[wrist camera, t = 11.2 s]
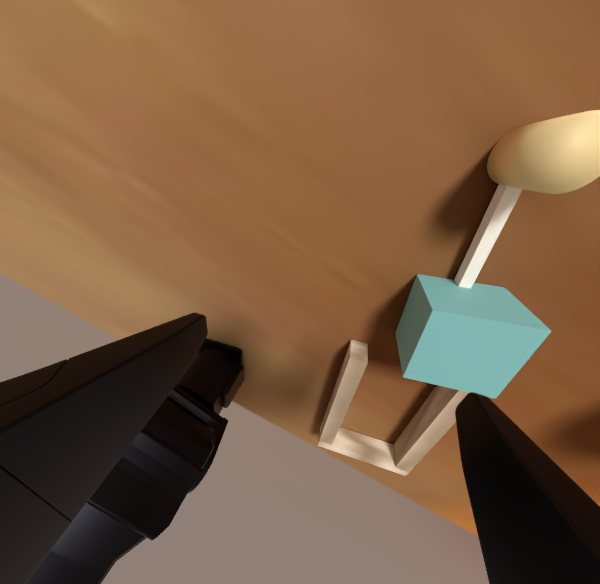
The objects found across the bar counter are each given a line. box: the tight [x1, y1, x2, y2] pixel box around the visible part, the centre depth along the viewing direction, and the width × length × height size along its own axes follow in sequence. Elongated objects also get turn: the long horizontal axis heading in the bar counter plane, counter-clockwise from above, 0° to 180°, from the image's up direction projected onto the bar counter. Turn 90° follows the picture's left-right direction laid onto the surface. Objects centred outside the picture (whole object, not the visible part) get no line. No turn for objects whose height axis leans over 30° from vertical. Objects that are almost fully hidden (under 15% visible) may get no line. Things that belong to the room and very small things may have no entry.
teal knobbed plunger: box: [395, 110, 600, 399], centre depth 14 cm, size 6×16×5 cm, turn 176°
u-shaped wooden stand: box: [318, 339, 469, 476], centre depth 25 cm, size 11×16×2 cm
